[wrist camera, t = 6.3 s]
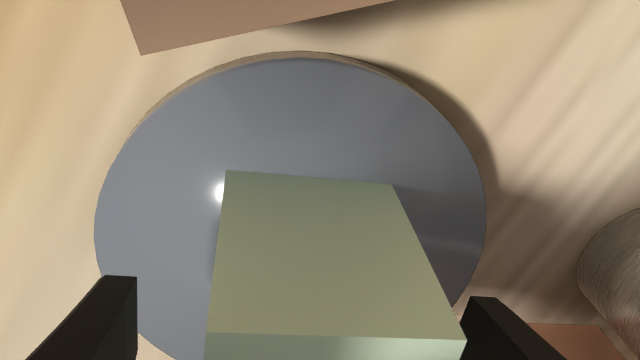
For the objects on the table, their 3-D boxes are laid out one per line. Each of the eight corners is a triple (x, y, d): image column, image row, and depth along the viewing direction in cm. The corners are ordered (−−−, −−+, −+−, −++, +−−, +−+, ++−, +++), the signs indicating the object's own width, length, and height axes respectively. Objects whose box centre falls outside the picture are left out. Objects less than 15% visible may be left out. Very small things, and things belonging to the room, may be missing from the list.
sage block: (359, 306, 14) (406, 489, 10) (215, 300, 13) (194, 493, 9) (391, 184, 12) (467, 340, 8) (226, 169, 11) (206, 331, 7)
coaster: (419, 363, 17) (428, 388, 16) (110, 353, 15) (101, 381, 14) (524, 81, 12) (544, 94, 11) (97, 19, 10) (82, 29, 10)
